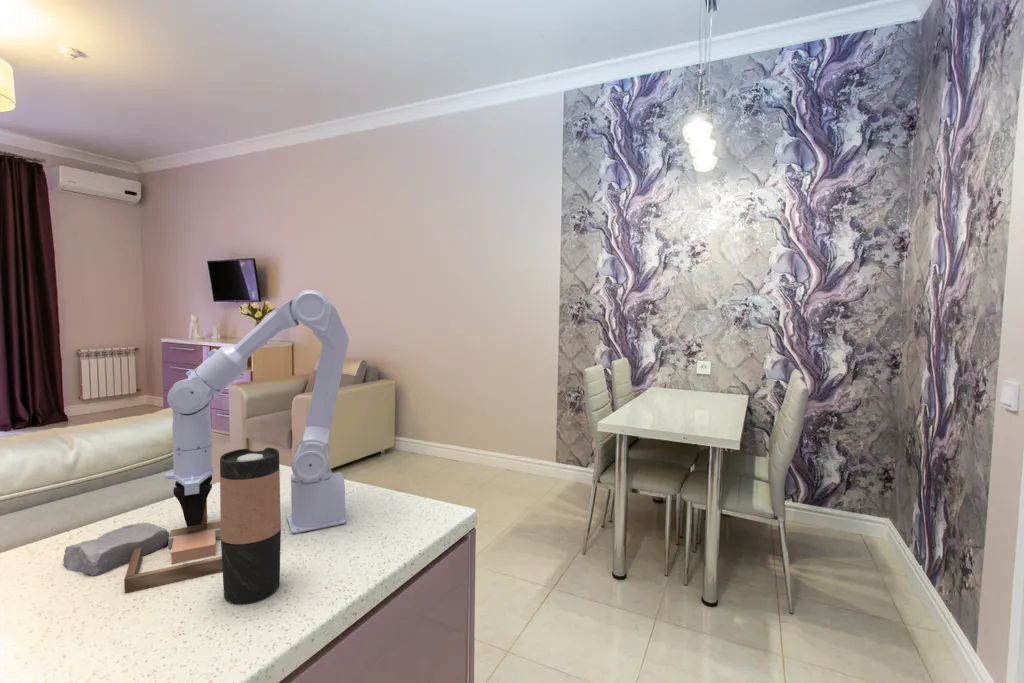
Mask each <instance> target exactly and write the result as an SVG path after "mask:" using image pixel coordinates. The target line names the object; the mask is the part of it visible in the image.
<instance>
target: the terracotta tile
mask: <svg viewBox="0 0 1024 683" xmlns="http://www.w3.org/2000/svg"><path fill="white" fill-rule="evenodd" d="M216 549H217V547H216V540H215V530H213V531H208V532H202V533H197V534H191V535H186V536H180V537H175V538H174V540H173V546H172V548H171V551H170V552H171V553H170V554H171V555H170V556H171V557H170V558H171V565H175V564H180V563H186V562H188V561H194V560H195V561H196V560H199V559H205V558H210V557H214V556H216V552H217V550H216Z"/></svg>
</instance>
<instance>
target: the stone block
mask: <svg viewBox="0 0 1024 683" xmlns="http://www.w3.org/2000/svg"><path fill="white" fill-rule="evenodd" d="M169 536H170V532H169V531H168V530H167V529H166V528H165V527H164V528H163V527H162V526H160V525H159V526H158V525H157V524H153V523H150V522H142V523H133V524H129V525H125V526H122V527H119V528H117V529H113V530H111V531H108V532H106V533H104V534H102V535H100V536H99V537H98V538H95V539H90V540H86V541H82V542H80V543H77V544H75V543H74V544H71V545H69V546H66V547H65V549H64V555H63V559H62V560H63V567H64V568H65V569H66V570H68V571H70V572H75V573H81V574H84V575H90V576H91V577H97V576H100V575H103V574H105V573H107V572H109V571H112V570H115V569H116V568H119V567H122V566H124V565H126V564H129V563H130V560H131V557H132V554H133V551H134V549H135V548H141V547H142V557H145V556H147V555H149V554H152V553H154V552H157V551H159V550H161V549H162V548H164V547H165V546H167V545H168V544H169V540H168V538H169Z"/></svg>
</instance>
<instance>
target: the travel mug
mask: <svg viewBox="0 0 1024 683" xmlns="http://www.w3.org/2000/svg"><path fill="white" fill-rule="evenodd" d="M280 469H281V468H280V451H279V450H278V449H277V448H274V447H266V448H264V449H262V450H257V451H256V450H251V449H249V448H239V449H235V450H230V451H229V452H226V453H223V454H222V455H221V456H220V459H219V480H220V481H219V486H220V488H219V489H220V490H219V491H220V492H219V495H220V498H219V499H220V500H219V501H220V503H219V504H220V505H219V509H220V512H219V514H220V517H219V518H220V521H221V539H220V548H221V552H220V553H221V556H222V570H223V571H222V581H223V582H222V585H223V586H222V588H223V597H224V599H225V600H226V601H227V603H230V604H233V605H234V604H235V605H249V604H252V603H257V602H260V601H262V600H265V599H266V598H268V597H270V596H272V595H273V594H275V592H277V590H278V589H279V587H280V583H281V582H280V580H281V578H280V575H281V537H282V536H281V535H282V534H281V533H282V532H281V531H282V520H281V477H280V476H281V475H280V474H281V473H280Z"/></svg>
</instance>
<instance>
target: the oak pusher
mask: <svg viewBox="0 0 1024 683" xmlns="http://www.w3.org/2000/svg"><path fill="white" fill-rule="evenodd" d="M207 501H208V498H207V499H206V503H205V507H204V513H203V519H202V522H201V524H200V525H194V526H187V525H186V526H185V527H181V528H174V529H170V532H169V538H168V540H169V541H168V550H172V546H173V540H174V538H175V537H180V536H186V535H191V534H197V533H202V532H208V531H213V530H215V541H216V540H217V541H219V540H221V520H220V521H213V522H209V523H208V502H207Z"/></svg>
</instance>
